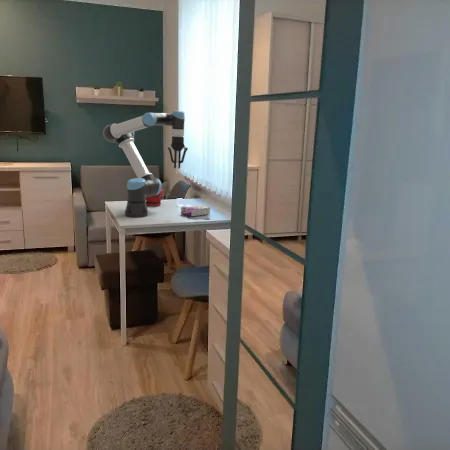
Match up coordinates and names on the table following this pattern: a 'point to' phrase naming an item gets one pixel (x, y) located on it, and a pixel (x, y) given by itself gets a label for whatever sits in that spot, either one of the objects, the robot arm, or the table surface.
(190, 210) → the candy bar box
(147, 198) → the plant pot
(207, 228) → the table surface
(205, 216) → the rubber mat
